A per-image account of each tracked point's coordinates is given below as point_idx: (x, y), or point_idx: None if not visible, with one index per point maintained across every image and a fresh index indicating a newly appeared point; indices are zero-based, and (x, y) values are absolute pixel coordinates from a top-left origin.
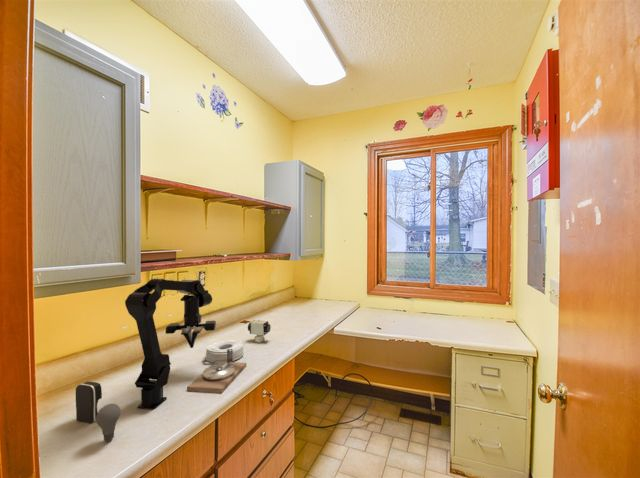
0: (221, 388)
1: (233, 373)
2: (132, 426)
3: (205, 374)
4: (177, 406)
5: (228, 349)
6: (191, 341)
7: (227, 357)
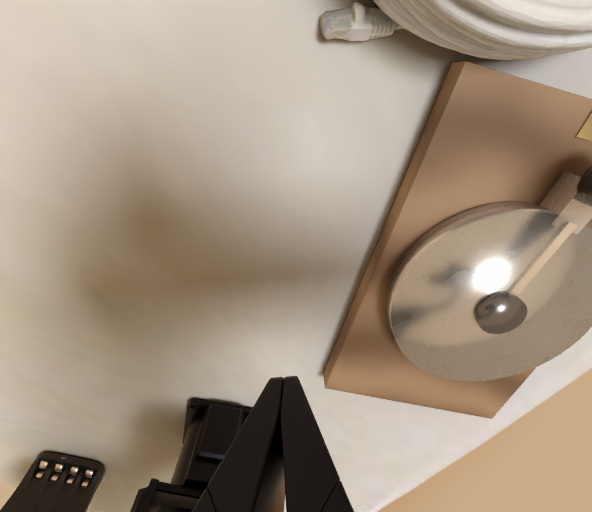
0: (490, 415)
1: None
2: None
3: (411, 353)
4: None
5: None
6: (276, 480)
7: None
